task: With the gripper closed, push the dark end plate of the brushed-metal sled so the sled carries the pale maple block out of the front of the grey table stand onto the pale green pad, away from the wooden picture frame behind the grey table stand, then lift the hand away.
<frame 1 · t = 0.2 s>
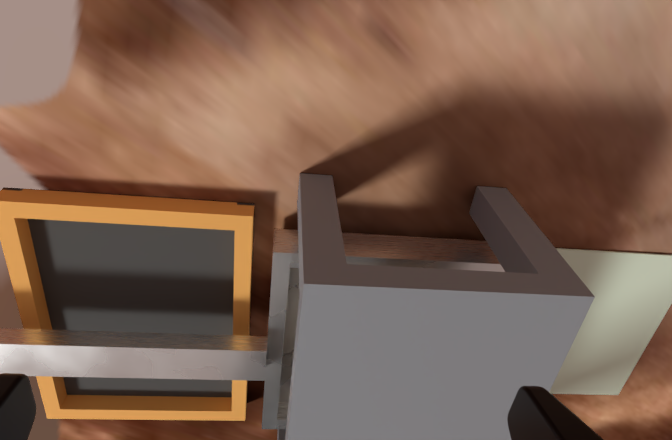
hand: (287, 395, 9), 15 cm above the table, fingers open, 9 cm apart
grey table stand: (376, 321, 28), on the table
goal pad: (568, 328, 29), on the table
sled: (158, 372, 23), point 4 cm above the table, slide at 0.0 cm, touching maple block
wooden picture frame: (144, 312, 26), on the table
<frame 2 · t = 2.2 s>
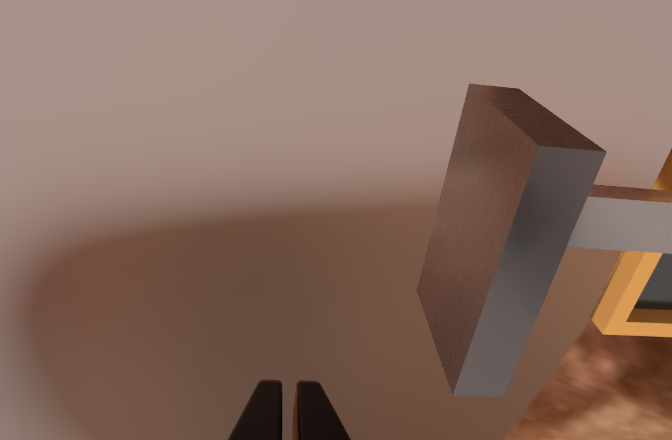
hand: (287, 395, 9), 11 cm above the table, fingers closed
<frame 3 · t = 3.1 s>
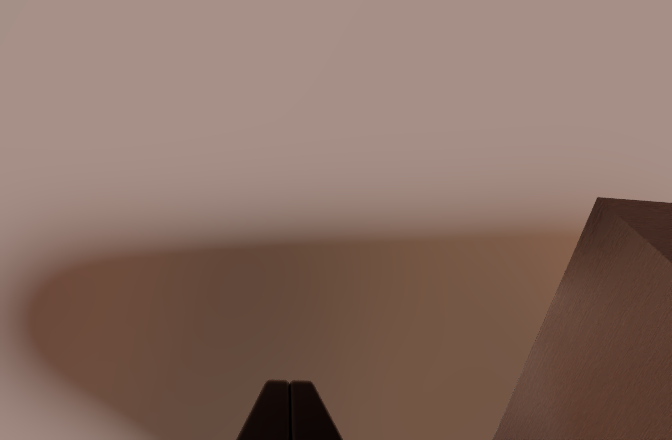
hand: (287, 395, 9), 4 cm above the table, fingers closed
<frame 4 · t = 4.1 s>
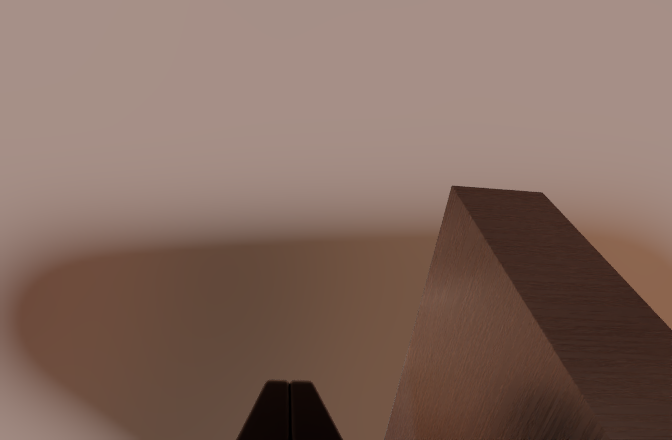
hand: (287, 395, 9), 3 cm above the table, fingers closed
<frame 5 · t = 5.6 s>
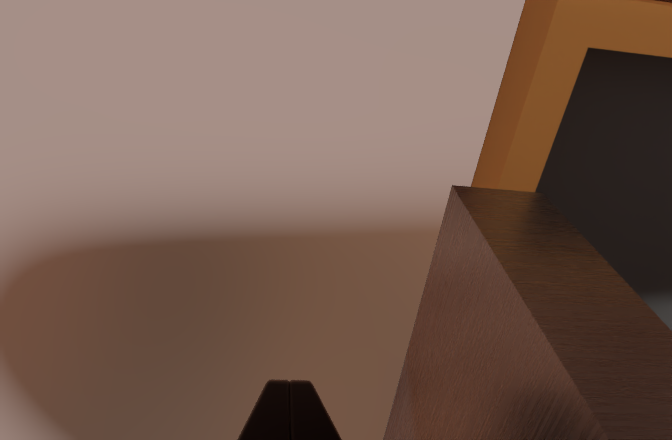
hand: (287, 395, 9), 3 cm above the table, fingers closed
wooden picture frame: (639, 297, 13), on the table
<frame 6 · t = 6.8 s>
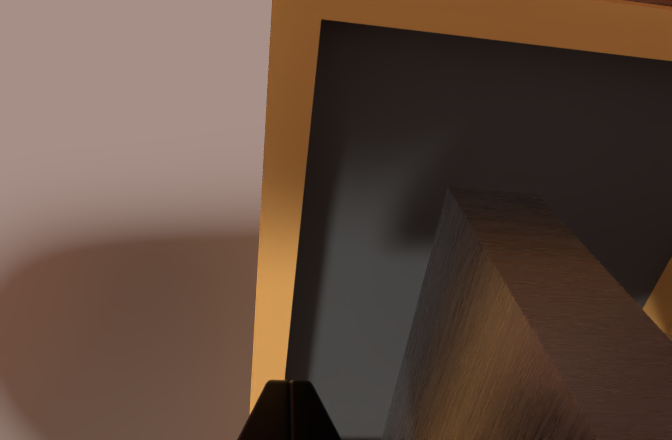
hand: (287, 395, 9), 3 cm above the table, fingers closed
wooden picture frame: (474, 289, 13), on the table
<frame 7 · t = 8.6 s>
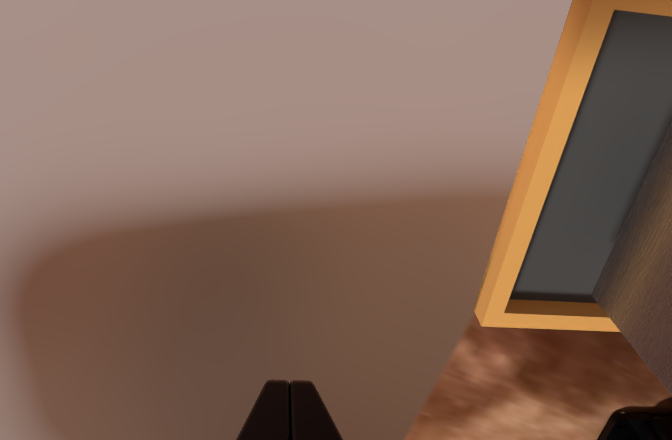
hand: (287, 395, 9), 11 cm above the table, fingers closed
wooden picture frame: (645, 181, 20), on the table
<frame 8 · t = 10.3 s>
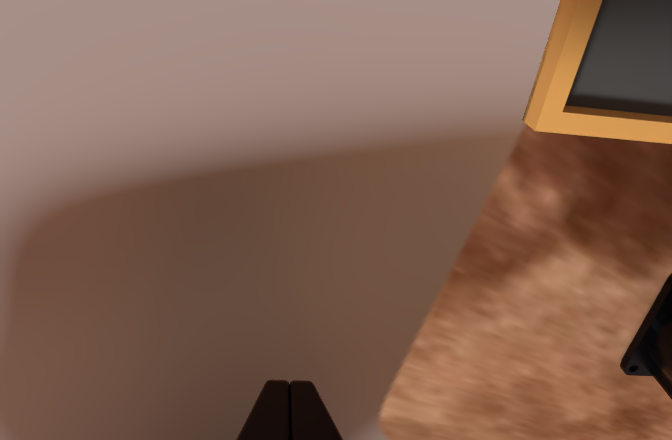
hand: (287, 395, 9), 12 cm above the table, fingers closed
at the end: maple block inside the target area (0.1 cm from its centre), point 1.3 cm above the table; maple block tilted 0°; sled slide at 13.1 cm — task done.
